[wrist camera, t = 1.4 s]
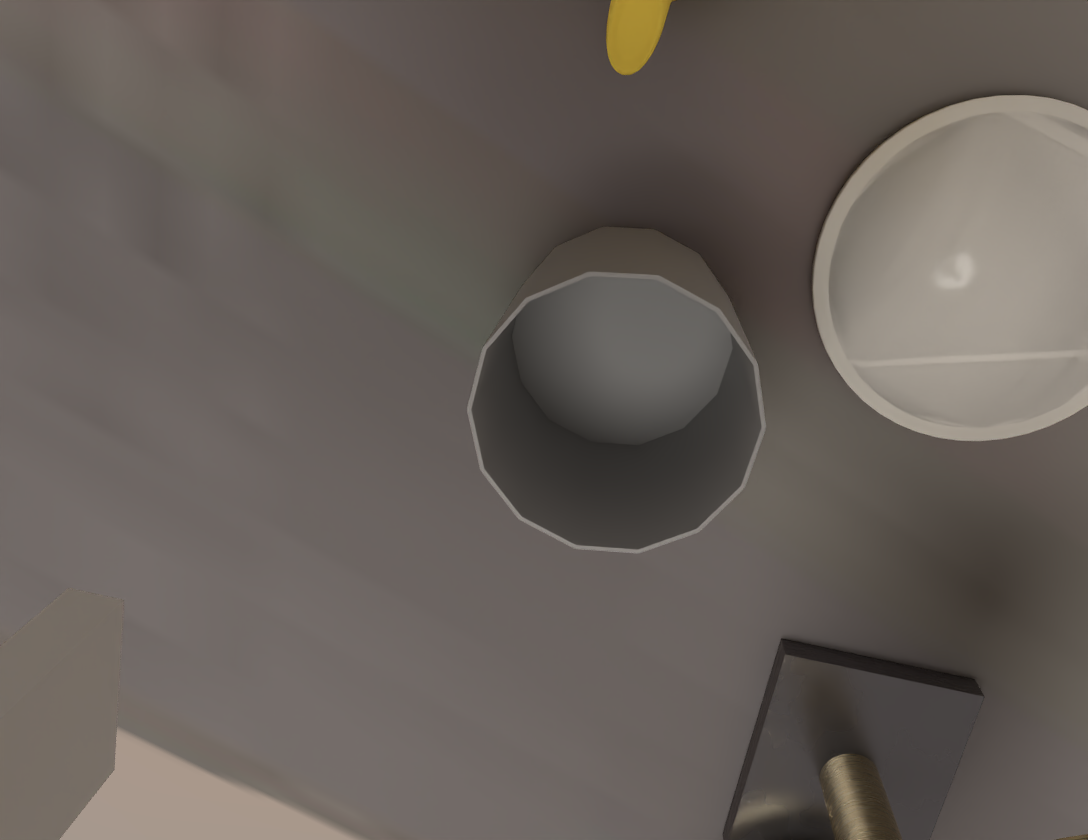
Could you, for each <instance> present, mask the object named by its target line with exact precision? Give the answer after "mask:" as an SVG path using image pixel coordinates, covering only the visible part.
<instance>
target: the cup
mask: <svg viewBox="0 0 1088 840" xmlns="http://www.w3.org/2000/svg"><path fill="white" fill-rule="evenodd" d="M467 412H468V417H469V421H470V426H471V430H472V435H473V439H474V444H475V448H476V453H477V457H478V462H479V466H480V470H481V472H482V473H483V474H484V476H485V477H486V478H487V479H488V481H489V482H490V483H491V484H492V486H493V487H494V488H495V490H496V491H497V492H498V493H499V495H500V496H501V497H502V499H503V500H504V501H505V502H506V504H507V505H508V506H509V507H510V509H511V510H512V511H513V513H514V514H515V515H516V516H517V518H518V519H519V520H521V521H523V522H525V523H527V524H529V525H530V526H532V527H534V528H536V529H538V530H540V531H542V532H544V533H546V534H548V535H550V536H551V537H553V538H555V539H557V540H559V541H561V542H563V543H565V544H567V545H569V546H571V547H572V548H574V549H584V550H598V551H612V552H625V553H641V552H644V551H647V550H650V549H653V548H656V547H658V546H661V545H664V544H667V543H670V542H673V541H675V540H678V539H681V538H684V537H687V536H690V535H693V534H695V533H698V532H700V531H701V530H702V529H703V528H704V527H705V526H706V525H707V524H708V523H709V522H710V521H711V520H712V519H713V518H714V517H715V516H716V515H717V514H718V513H719V512H720V511H721V510H722V509H723V508H725V507H726V506H727V505H728V504H729V503H730V502H731V501H732V500H733V499H734V498H735V497H736V496H737V495H738V494H739V493H740V492H741V491H742V490H743V489H744V488H745V486H746V483H747V480H748V477H749V475H750V472H751V469H752V466H753V464H754V461H755V458H756V455H757V452H758V450H759V447H760V444H761V441H762V439H763V436H764V433H765V430H766V422H765V414H764V407H763V399H762V391H761V384H760V376H759V368H758V363H757V360H756V358H755V356H754V354H753V351H752V349H751V347H750V345H749V342H748V340H747V338H746V335H745V333H744V331H743V329H742V326H741V324H740V322H739V320H738V317H737V315H736V313H735V311H734V308H733V306H732V304H731V301H730V299H729V297H728V295H727V293H726V292H725V291H724V289H723V288H722V286H721V285H720V283H719V282H718V280H717V279H716V277H715V276H714V275H713V273H712V272H711V270H710V269H709V267H708V266H707V264H706V263H705V262H704V260H703V259H702V257H701V256H700V254H699V253H697V252H695V251H693V250H691V249H690V248H688V247H686V246H684V245H682V244H681V243H679V242H677V241H675V240H673V239H671V238H670V237H668V236H666V235H664V234H662V233H661V232H659V231H657V230H655V229H644V228H623V227H600V228H598V229H596V230H593V231H591V232H589V233H586V234H584V235H582V236H579V237H577V238H575V239H572V240H570V241H568V242H565V243H563V244H561V245H558V246H556V247H555V248H554V249H553V250H552V251H551V253H550V254H549V255H548V256H547V257H546V258H545V259H544V261H543V262H542V263H541V264H540V265H539V266H538V268H537V269H536V270H535V271H534V272H533V273H532V275H531V276H530V277H529V278H528V279H527V280H526V281H525V283H524V284H523V285H522V287H521V288H520V290H519V291H518V293H517V294H516V296H515V298H514V299H513V301H512V302H511V304H510V305H509V307H508V309H507V310H506V312H505V313H504V315H503V316H502V318H501V319H500V321H499V323H498V324H497V326H496V327H495V329H494V330H493V332H492V334H491V335H490V337H489V338H488V340H487V341H486V343H485V344H484V346H483V348H482V351H481V355H480V359H479V363H478V367H477V371H476V375H475V379H474V383H473V387H472V391H471V395H470V399H469V403H468V407H467Z"/></svg>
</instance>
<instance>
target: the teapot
mask: <svg viewBox="0 0 1088 840" xmlns="http://www.w3.org/2000/svg"><path fill="white" fill-rule="evenodd" d="M672 1H676V0H611V4H610V8H609V14H608V20H607V34H606V43H607V52H608V57H609V60H610V63H611V65H612V66H613V68H614V69H615V71H616V72H618V73H620V74H622V75H631V74H633V73H635V72H637V71H639V70H640V69H641V68H642V67H643V66H644V65H645V64H646V62H647V61H648V59H649V58H650V56H651V55H652V53H653V51H654V49H655V47H656V45H657V43H658V41H659V38H660V36H661V33H662V30H663V27H664V24H665V20H666V17H667V13H668V10H669V6H670V4H671V2H672Z"/></svg>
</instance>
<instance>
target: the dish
mask: <svg viewBox="0 0 1088 840" xmlns="http://www.w3.org/2000/svg"><path fill="white" fill-rule="evenodd" d="M811 286H812V302H813V310H814V315H815V320H816V325H817V329H818V331H819V334H820V337H821V340H822V343H823V345H824V348H825V350H826V352H827V354H828V355H829V357H830V359H831V361H832V363H833V365H834V366H835V368H836V369H837V371H838V372H839V373H840V375H841V376H842V378H843V379H844V380H845V382H846V383H847V384H848V386H849V387H850V388H851V389H852V390H853V391H854V392H855V393H856V394H857V395H858V396H859V397H860V398H861V399H862V400H863V401H864V402H865V403H867V404H868V405H869V406H870V407H872V408H873V409H874V410H876V411H877V412H878V413H879V414H881V415H883V416H885V417H886V418H888V419H890V420H892V421H893V422H895V423H897V424H899V425H901V426H904V427H906V428H908V429H911V430H913V431H916V432H919V433H922V434H926V435H930V436H934V437H937V438H944V439H951V440H958V441H987V440H997V439H1005V438H1010V437H1015V436H1019V435H1024V434H1028V433H1031V432H1033V431H1036V430H1039V429H1042V428H1045V427H1048V426H1050V425H1053V424H1055V423H1057V422H1059V421H1061V420H1063V419H1065V418H1067V417H1069V416H1071V415H1073V414H1074V413H1076V412H1078V411H1079V410H1081V409H1083V408H1084V407H1086V406H1087V405H1088V110H1086V109H1084V108H1081V107H1079V106H1077V105H1074V104H1071V103H1067V102H1063V101H1060V100H1056V99H1052V98H1045V97H1037V96H1029V95H1001V96H990V97H983V98H976V99H970V100H967V101H963V102H960V103H956V104H952V105H949V106H946V107H944V108H941V109H939V110H936V111H934V112H931V113H929V114H927V115H924V116H923V117H921V118H919V119H917V120H915V121H914V122H912V123H910V124H908V125H907V126H905V127H903V128H902V129H900V130H899V131H897V132H896V133H895V134H893V135H892V136H891V137H889V138H888V139H887V140H885V141H884V142H882V143H881V144H880V145H879V146H878V147H877V148H876V149H875V150H874V151H873V152H872V153H871V154H870V155H869V156H867V157H866V158H865V159H864V160H863V162H862V163H861V164H860V165H859V166H858V168H857V169H856V170H855V171H854V172H853V173H852V175H851V176H850V177H849V178H848V180H847V181H846V183H845V184H844V186H843V187H842V189H841V191H840V192H839V194H838V195H837V197H836V198H835V200H834V202H833V204H832V206H831V208H830V210H829V212H828V214H827V216H826V218H825V221H824V224H823V227H822V230H821V233H820V236H819V238H818V241H817V246H816V251H815V256H814V261H813V271H812V285H811Z"/></svg>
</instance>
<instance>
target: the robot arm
mask: <svg viewBox="0 0 1088 840" xmlns="http://www.w3.org/2000/svg"><path fill="white" fill-rule="evenodd" d="M123 611H124V600H122V599H117V598H113V597H108V596H103V595H99V594H94V593H89V592H85V591H80V590H76V589H71V588H68V589H67V590H66V591H65V592H63V593H62V594H61V595H60V596H59V597H58V598H56V599H55V600H54V601H53V602H52V603H50V604H49V605H48V606H47V607H46V608H45V609H43V610H42V611H41V612H40V613H39V614H38V615H36V616H35V617H34V618H33V619H32V620H30V621H29V622H28V623H27V624H26V625H25V626H23V627H22V628H21V629H20V630H19V631H17V632H16V633H15V634H14V635H13V636H12V637H10V638H9V639H8V640H7V641H6V642H5V643H3V644H2V645H1V646H0V840H59V839H60V838H61V836H62V835H63V834H64V833H65V831H66V830H67V829H68V828H69V827H70V825H71V824H72V823H73V821H74V820H75V819H76V818H77V816H78V815H79V814H80V813H81V811H82V810H83V809H84V808H85V806H86V805H87V804H88V802H89V801H90V800H91V798H92V797H93V796H94V795H95V793H96V792H97V791H98V790H99V788H100V787H101V786H102V785H103V783H104V782H105V781H106V779H107V778H108V777H109V776H110V775H111V773H112V772H113V771H114V765H115V748H116V732H117V715H118V697H119V680H120V663H121V645H122V628H123Z"/></svg>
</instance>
